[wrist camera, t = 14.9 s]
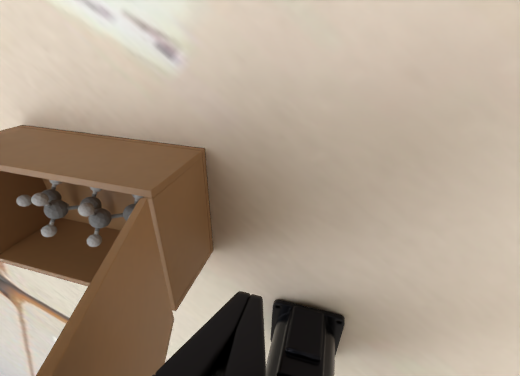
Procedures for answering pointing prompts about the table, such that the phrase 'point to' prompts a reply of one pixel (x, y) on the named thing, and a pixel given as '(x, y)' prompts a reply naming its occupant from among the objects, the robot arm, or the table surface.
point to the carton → (112, 198)
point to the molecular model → (59, 209)
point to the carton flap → (119, 311)
